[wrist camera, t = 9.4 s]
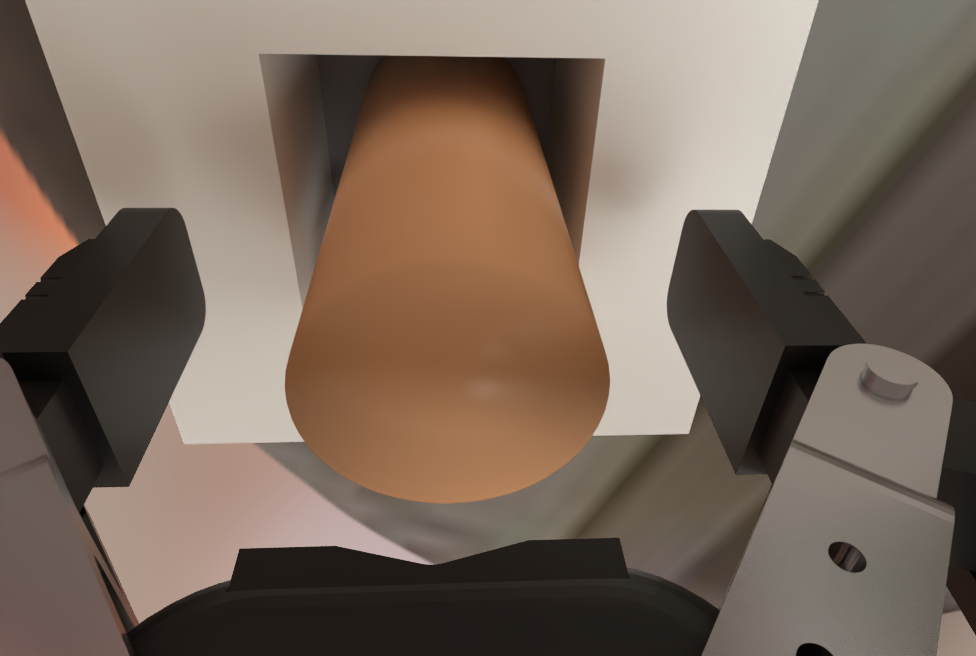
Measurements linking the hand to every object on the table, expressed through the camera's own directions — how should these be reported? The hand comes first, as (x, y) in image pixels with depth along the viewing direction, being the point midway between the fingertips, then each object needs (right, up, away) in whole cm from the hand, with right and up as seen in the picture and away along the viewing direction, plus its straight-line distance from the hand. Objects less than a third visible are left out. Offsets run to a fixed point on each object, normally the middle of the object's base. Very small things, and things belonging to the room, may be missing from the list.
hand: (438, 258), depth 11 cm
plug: (0, +4, +5) cm, 7 cm away
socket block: (0, +5, +6) cm, 8 cm away
